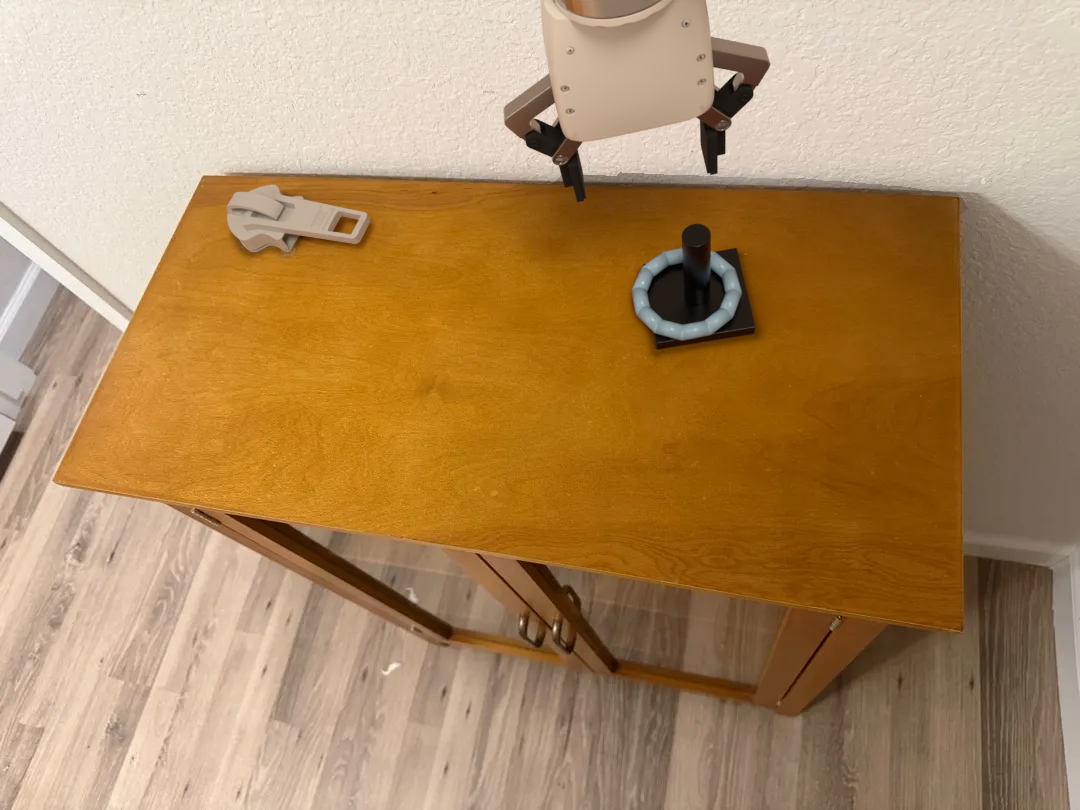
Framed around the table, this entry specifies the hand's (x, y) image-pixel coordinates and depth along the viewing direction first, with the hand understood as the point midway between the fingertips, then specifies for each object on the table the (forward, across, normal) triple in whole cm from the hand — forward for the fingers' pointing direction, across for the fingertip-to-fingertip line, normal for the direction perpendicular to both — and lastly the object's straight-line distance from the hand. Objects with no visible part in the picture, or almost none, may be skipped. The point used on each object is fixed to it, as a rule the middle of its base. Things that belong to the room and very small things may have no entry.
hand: (643, 173), depth 57 cm
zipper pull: (+18, +38, -18) cm, 46 cm away
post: (+19, -4, 0) cm, 19 cm away
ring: (+17, -2, 0) cm, 17 cm away
